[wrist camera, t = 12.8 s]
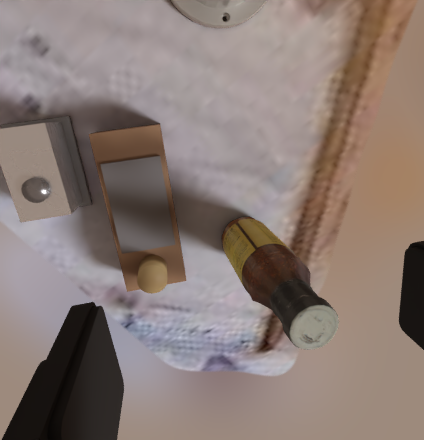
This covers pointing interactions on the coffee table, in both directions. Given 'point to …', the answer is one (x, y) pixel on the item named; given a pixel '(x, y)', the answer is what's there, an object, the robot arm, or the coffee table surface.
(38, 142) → the grey box with knob
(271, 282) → the sauce bottle
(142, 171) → the hand plane
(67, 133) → the rubber mat
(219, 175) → the coffee table surface
